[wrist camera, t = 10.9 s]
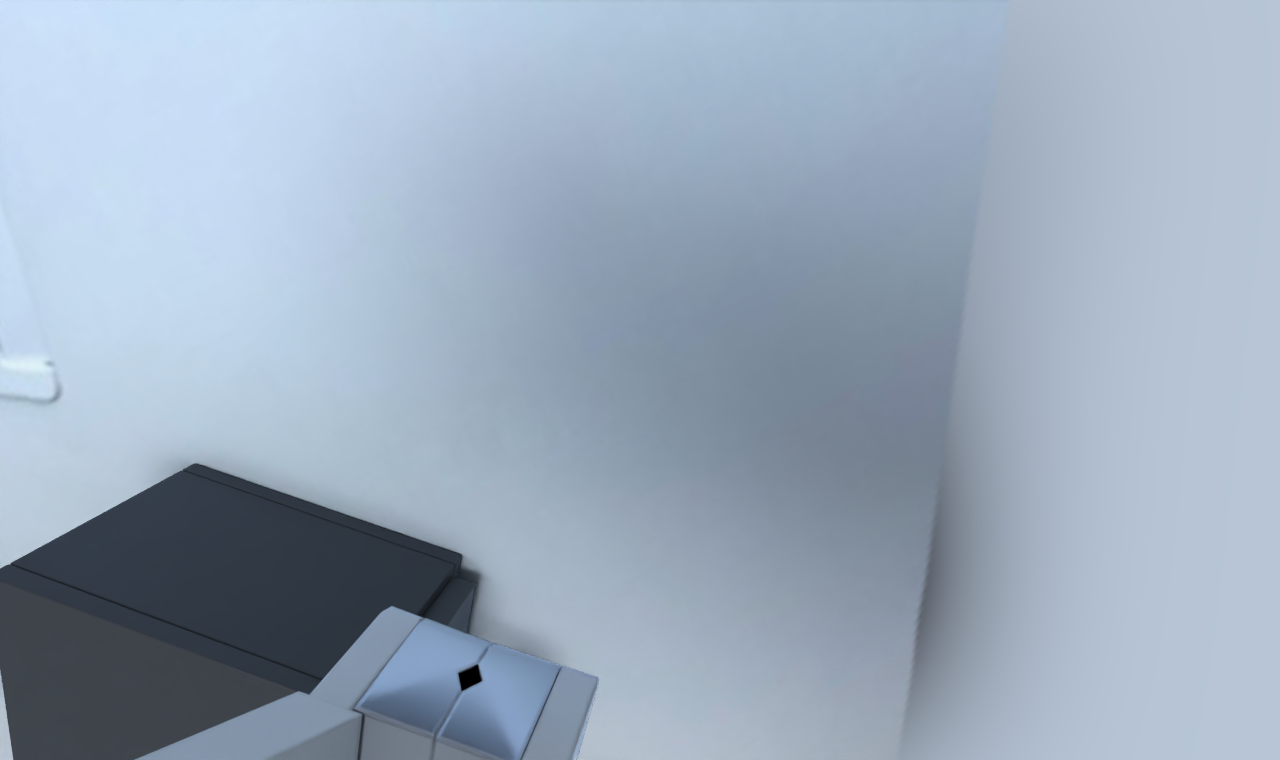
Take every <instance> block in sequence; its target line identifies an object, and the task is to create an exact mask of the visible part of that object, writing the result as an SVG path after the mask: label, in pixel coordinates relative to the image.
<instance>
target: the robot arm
mask: <svg viewBox="0 0 1280 760" xmlns="http://www.w3.org/2000/svg"><path fill="white" fill-rule="evenodd" d="M598 683H599V678H598V677H596V676H593V675H590V674H587V673H584V672H581V671H578V670H575V669H572V668H569V667H566V666H563V665H559V664H556V663H553V662H550V661H547V660H544V659H541V658H538V657H535V656H532V655H529V654H526V653H523V652H520V651H517V650H514V649H511V648H508V647H505V646H502V645H499V644H496V643H491V642H489V641H486V640H483V639H481V638H478V637H475V636H473V635H470V634H467V633H465V632H462V631H459V630H457V629H454V628H451V627H449V626H446V625H443V624H441V623H438V622H435V621H433V620H430V619H427V618H422V617H420V616H417V615H414V614H412V613H409V612H406V611H404V610H401V609H398V608H396V607H393V606H391V607H389V608H388V609H386V610H384V611H382V612H381V613H380V614H379V615H378V616H377V617H376V619H375V620H374V621H373V622H372V623H371V624H370V625H369V627H368V628H367V629H366V630H365V631H364V632H363V634H362V635H361V636H360V637H359V638H358V639H357V640H356V642H355V643H354V644H353V645H352V646H351V647H350V648H349V650H348V651H347V652H346V653H345V654H344V655H343V657H342V658H341V659H340V660H339V661H338V662H337V663H336V665H335V666H334V667H333V668H332V669H331V670H330V672H329V673H328V674H327V675H326V676H325V677H324V678H323V680H322V681H321V682H320V683H319V684H318V685H317V687H316V688H315V689H314V690H313V691H312V692H311V693H310V695H309V694H306V693H303V692H300V691H297V692H295V693H293V694H290V695H288V696H286V697H283V698H281V699H278V700H276V701H274V702H271V703H269V704H266V705H264V706H262V707H259V708H257V709H254V710H252V711H250V712H247V713H245V714H243V715H240V716H238V717H235V718H233V719H231V720H228V721H226V722H223V723H221V724H219V725H216V726H214V727H211V728H209V729H207V730H204V731H202V732H200V733H197V734H195V735H192V736H190V737H188V738H185V739H183V740H180V741H178V742H176V743H173V744H171V745H168V746H166V747H164V748H161V749H159V750H157V751H154V752H152V753H149V754H147V755H145V756H142V757H140V758H137V759H135V760H577V758H578V755H579V752H580V748H581V745H582V741H583V738H584V734H585V730H586V727H587V723H588V720H589V716H590V712H591V709H592V705H593V702H594V698H595V694H596V691H597V687H598Z"/></svg>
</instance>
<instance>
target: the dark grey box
mask: <svg viewBox="0 0 1280 760" xmlns="http://www.w3.org/2000/svg"><path fill="white" fill-rule="evenodd" d="M461 558H462V556H461V555H460V554H457V553H454V552H451V551H448V550H445V549H442V548H439V547H436V546H433V545H430V544H428V543H425V542H422V541H419V540H416V539H413V538H410V537H407V536H404V535H401V534H398V533H395V532H393V531H390V530H387V529H384V528H381V527H378V526H375V525H372V524H369V523H366V522H363V521H361V520H358V519H355V518H352V517H349V516H346V515H343V514H340V513H337V512H334V511H331V510H328V509H326V508H323V507H320V506H317V505H314V504H311V503H308V502H305V501H302V500H299V499H296V498H294V497H291V496H288V495H285V494H282V493H279V492H276V491H273V490H270V489H267V488H264V487H262V486H259V485H256V484H253V483H250V482H247V481H244V480H241V479H238V478H235V477H232V476H229V475H227V474H224V473H221V472H218V471H215V470H212V469H209V468H206V467H203V466H200V465H197V464H193V465H191V466H189V467H187V468H185V469H183V471H180V472H178V473H176V474H174V475H172V476H170V477H168V478H167V479H165V480H163V481H161V482H159V483H157V484H156V485H154V486H152V487H150V488H148V489H146V490H145V491H143V492H141V493H139V494H137V495H135V496H134V497H132V498H130V499H128V500H126V501H124V502H122V503H121V504H119V505H117V506H115V507H113V508H111V509H110V510H108V511H106V512H104V513H102V514H100V515H99V516H97V517H95V518H93V519H91V520H89V521H87V522H86V523H84V524H82V525H80V526H78V527H76V528H75V529H73V530H71V531H69V532H67V533H65V534H64V535H62V536H60V537H58V538H56V539H54V540H52V541H51V542H49V543H47V544H45V545H43V546H41V547H40V548H38V549H36V550H34V551H32V552H30V553H29V554H27V555H25V556H23V557H21V558H19V559H18V560H16V561H14V562H12V563H11V564H10V565H6V566H4V567H3V568H1V569H0V669H1V676H2V683H3V690H4V697H5V704H6V711H7V718H8V725H9V732H10V739H11V746H12V753H13V760H135V759H137V758H140V757H142V756H145V755H147V754H149V753H152V752H154V751H157V750H159V749H161V748H164V747H166V746H168V745H171V744H173V743H176V742H178V741H180V740H183V739H185V738H188V737H190V736H192V735H195V734H197V733H200V732H202V731H204V730H207V729H209V728H211V727H214V726H216V725H219V724H221V723H223V722H226V721H228V720H231V719H233V718H235V717H238V716H240V715H243V714H245V713H247V712H250V711H252V710H254V709H257V708H259V707H262V706H264V705H266V704H269V703H271V702H274V701H276V700H278V699H281V698H283V697H286V696H288V695H290V694H293V693H295V692H297V691H300V692H303V693H306V694H309V695H310V693H311V692H312V691H313V690H314V689H315V688H316V687H317V685H318V684H319V683H320V682H321V681H322V680H323V678H324V677H325V676H326V675H327V674H328V673H329V672H330V670H331V669H332V668H333V667H334V666H335V665H336V663H337V662H338V661H339V660H340V659H341V658H342V657H343V655H344V654H345V653H346V652H347V651H348V650H349V648H350V647H351V646H352V645H353V644H354V643H355V642H356V640H357V639H358V638H359V637H360V636H361V635H362V634H363V632H364V631H365V630H366V629H367V628H368V627H369V625H370V624H371V623H372V622H373V621H374V620H375V619H376V617H377V616H378V615H379V614H380V613H381V612H382V611H384V610H386V609H388V608H389V607H391V606H393V607H396V608H398V609H401V610H404V611H406V612H409V613H412V614H414V615H417V616H420V617H422V616H423V615H424V613H425V612H426V611H427V609H428V608H429V607H430V606H431V604H432V603H433V602H434V600H435V599H436V598H437V596H438V595H439V594H440V592H441V591H442V590H443V588H444V587H445V586H446V584H447V583H448V582H449V581H450V579H451V578H452V577H453V576H454V577H457V578H458V575H459V569H460V564H461Z"/></svg>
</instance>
